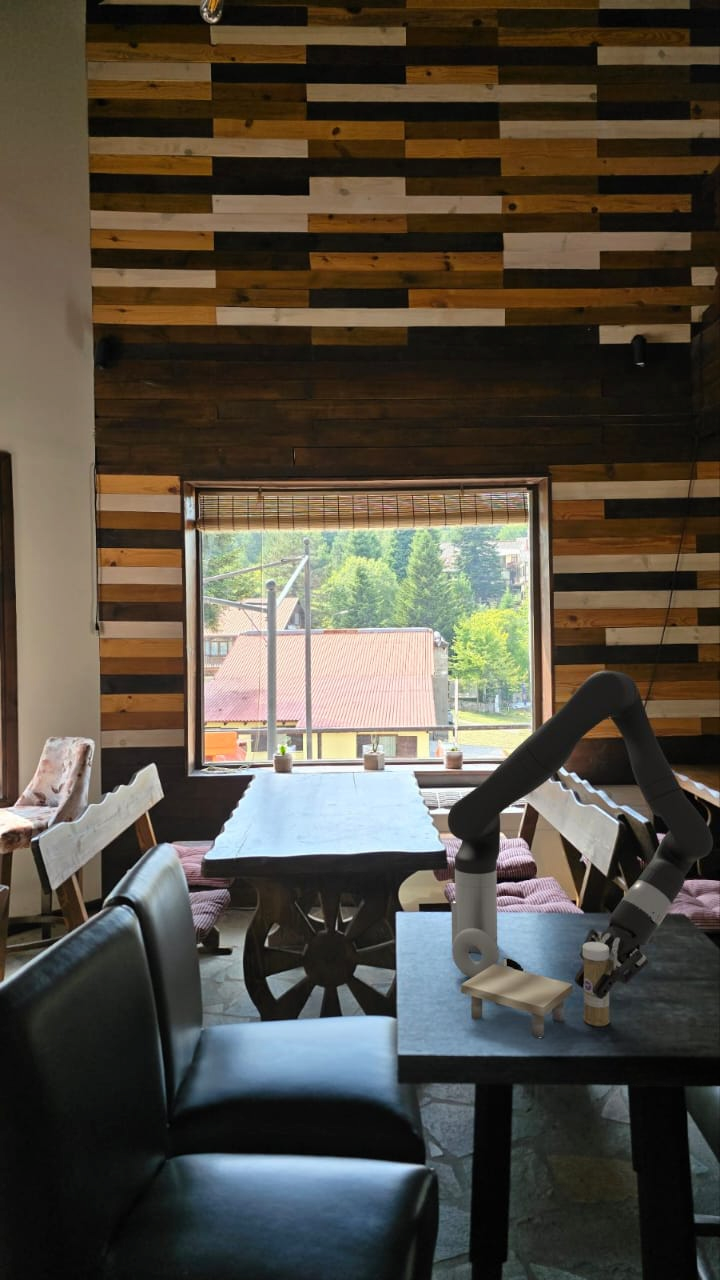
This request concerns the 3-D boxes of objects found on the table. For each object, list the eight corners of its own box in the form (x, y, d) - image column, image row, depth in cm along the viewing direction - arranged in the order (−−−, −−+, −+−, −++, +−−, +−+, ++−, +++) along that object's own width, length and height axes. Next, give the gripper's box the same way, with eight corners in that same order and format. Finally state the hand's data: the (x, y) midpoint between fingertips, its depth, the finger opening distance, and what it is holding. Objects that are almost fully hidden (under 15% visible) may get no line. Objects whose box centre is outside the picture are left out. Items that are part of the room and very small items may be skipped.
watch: (496, 968, 173) (496, 951, 173) (519, 968, 173) (519, 951, 173) (503, 984, 165) (503, 965, 165) (527, 983, 165) (526, 965, 165)
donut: (502, 980, 166) (501, 930, 166) (495, 986, 163) (494, 935, 163) (456, 970, 171) (456, 922, 171) (449, 976, 168) (448, 927, 169)
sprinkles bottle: (578, 1021, 148) (577, 945, 148) (592, 1013, 151) (591, 939, 151) (601, 1029, 144) (600, 952, 144) (615, 1021, 147) (614, 945, 148)
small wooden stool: (461, 1018, 150) (461, 984, 150) (494, 995, 159) (493, 964, 159) (543, 1043, 140) (543, 1007, 140) (573, 1017, 149) (572, 984, 149)
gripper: (602, 889, 157) (550, 963, 152) (656, 911, 144) (601, 993, 139) (625, 913, 159) (574, 987, 154) (680, 937, 146) (627, 1019, 141)
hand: (587, 989), depth 147 cm, fingers closed on sprinkles bottle, 4 cm apart
